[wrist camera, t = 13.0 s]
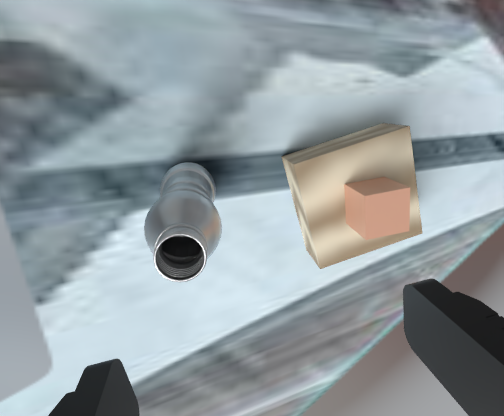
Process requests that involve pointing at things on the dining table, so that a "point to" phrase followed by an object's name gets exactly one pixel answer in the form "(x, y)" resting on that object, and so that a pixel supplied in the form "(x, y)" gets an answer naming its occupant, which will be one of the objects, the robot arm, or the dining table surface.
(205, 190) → the plastic bottle
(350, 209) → the terracotta block
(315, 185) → the beige square slab
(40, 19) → the dining table surface
